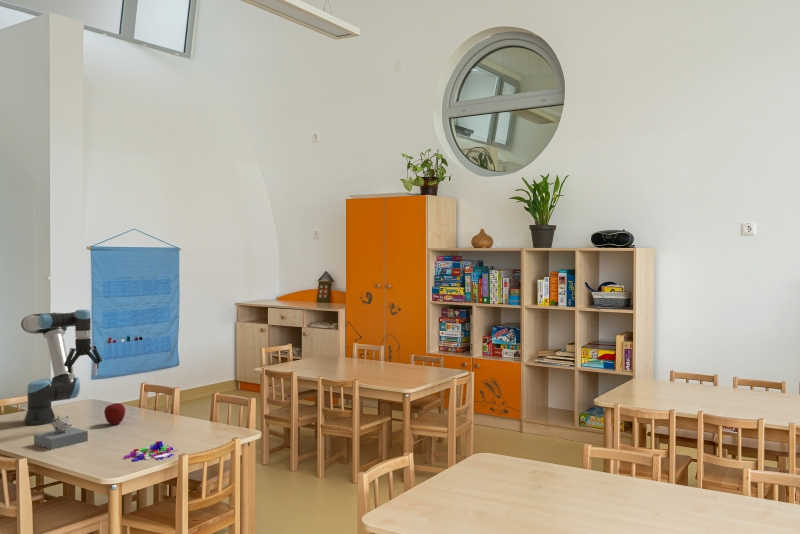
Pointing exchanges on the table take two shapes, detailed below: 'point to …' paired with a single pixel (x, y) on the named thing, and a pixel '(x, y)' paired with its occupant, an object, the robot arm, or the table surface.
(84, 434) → the plinth
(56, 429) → the game die
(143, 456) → the building block set
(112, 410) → the apple
